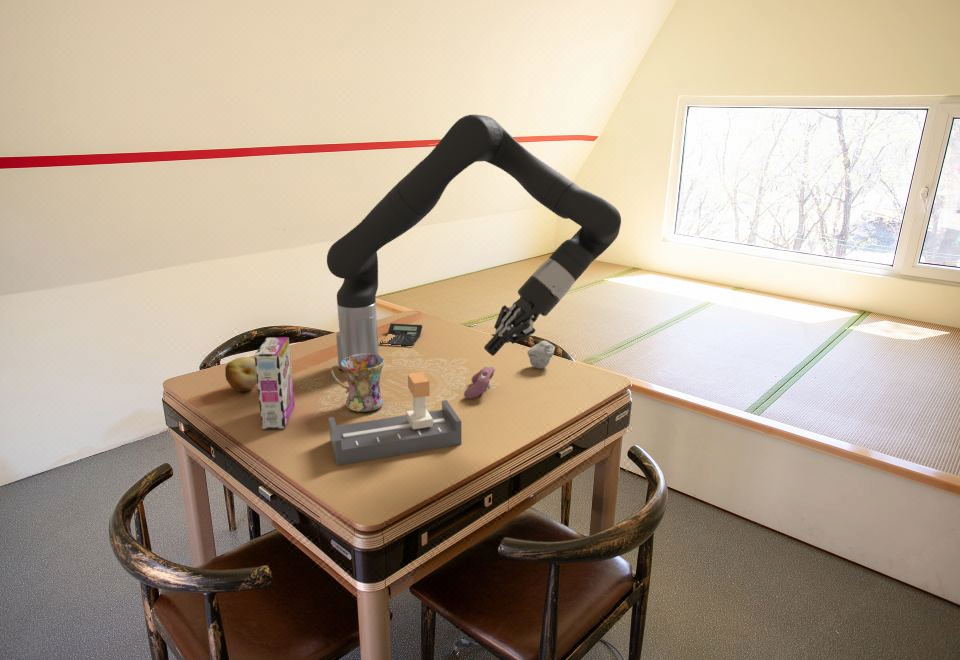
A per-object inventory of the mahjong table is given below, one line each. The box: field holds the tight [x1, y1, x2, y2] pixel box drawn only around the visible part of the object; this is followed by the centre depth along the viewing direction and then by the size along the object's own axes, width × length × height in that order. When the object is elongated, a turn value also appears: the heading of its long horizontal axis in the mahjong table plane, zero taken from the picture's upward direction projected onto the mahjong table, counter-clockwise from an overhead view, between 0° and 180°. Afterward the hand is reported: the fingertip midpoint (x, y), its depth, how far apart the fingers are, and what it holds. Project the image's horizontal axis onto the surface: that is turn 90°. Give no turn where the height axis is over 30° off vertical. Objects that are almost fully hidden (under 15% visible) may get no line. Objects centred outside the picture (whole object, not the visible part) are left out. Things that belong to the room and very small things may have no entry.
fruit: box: [224, 356, 258, 392], centre depth 151 cm, size 8×8×8 cm
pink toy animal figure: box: [463, 365, 496, 400], centre depth 151 cm, size 10×5×7 cm, turn 169°
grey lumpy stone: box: [527, 340, 556, 370], centre depth 164 cm, size 6×7×7 cm
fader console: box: [328, 399, 463, 466], centre depth 128 cm, size 24×10×5 cm, turn 109°
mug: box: [330, 354, 386, 413], centre depth 143 cm, size 12×9×11 cm
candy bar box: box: [254, 336, 296, 430], centre depth 136 cm, size 11×5×16 cm, turn 5°
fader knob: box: [406, 371, 433, 429], centre depth 128 cm, size 4×5×10 cm
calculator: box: [379, 322, 423, 347], centre depth 185 cm, size 9×12×3 cm
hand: (488, 352), depth 130 cm, fingers closed
